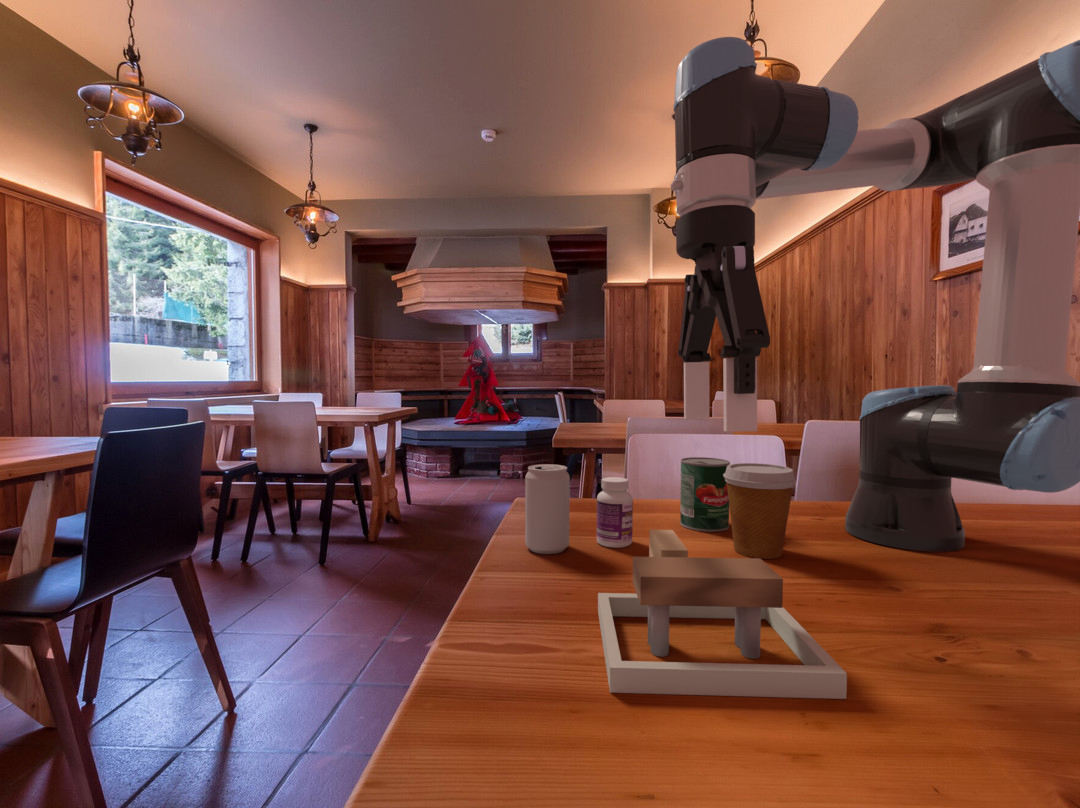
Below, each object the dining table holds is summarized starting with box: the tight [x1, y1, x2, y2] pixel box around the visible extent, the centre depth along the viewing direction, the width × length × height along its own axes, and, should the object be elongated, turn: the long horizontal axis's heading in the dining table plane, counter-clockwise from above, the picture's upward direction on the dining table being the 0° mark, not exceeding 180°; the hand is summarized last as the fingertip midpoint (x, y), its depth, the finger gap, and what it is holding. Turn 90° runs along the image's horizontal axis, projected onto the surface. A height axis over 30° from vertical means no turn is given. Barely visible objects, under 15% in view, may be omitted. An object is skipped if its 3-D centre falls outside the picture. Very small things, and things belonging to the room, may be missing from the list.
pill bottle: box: [596, 476, 634, 549], centre depth 76 cm, size 5×5×10 cm
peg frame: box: [597, 592, 848, 700], centre depth 46 cm, size 18×14×5 cm
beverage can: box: [524, 463, 571, 555], centre depth 74 cm, size 6×6×12 cm
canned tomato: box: [679, 456, 731, 533], centre depth 86 cm, size 8×8×11 cm
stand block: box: [648, 529, 689, 557], centre depth 62 cm, size 3×8×5 cm, turn 177°
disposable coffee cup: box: [723, 462, 798, 560], centre depth 72 cm, size 10×10×12 cm
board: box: [632, 556, 784, 608], centre depth 46 cm, size 12×5×2 cm, turn 87°
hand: (715, 424), depth 52 cm, fingers open, 13 cm apart
